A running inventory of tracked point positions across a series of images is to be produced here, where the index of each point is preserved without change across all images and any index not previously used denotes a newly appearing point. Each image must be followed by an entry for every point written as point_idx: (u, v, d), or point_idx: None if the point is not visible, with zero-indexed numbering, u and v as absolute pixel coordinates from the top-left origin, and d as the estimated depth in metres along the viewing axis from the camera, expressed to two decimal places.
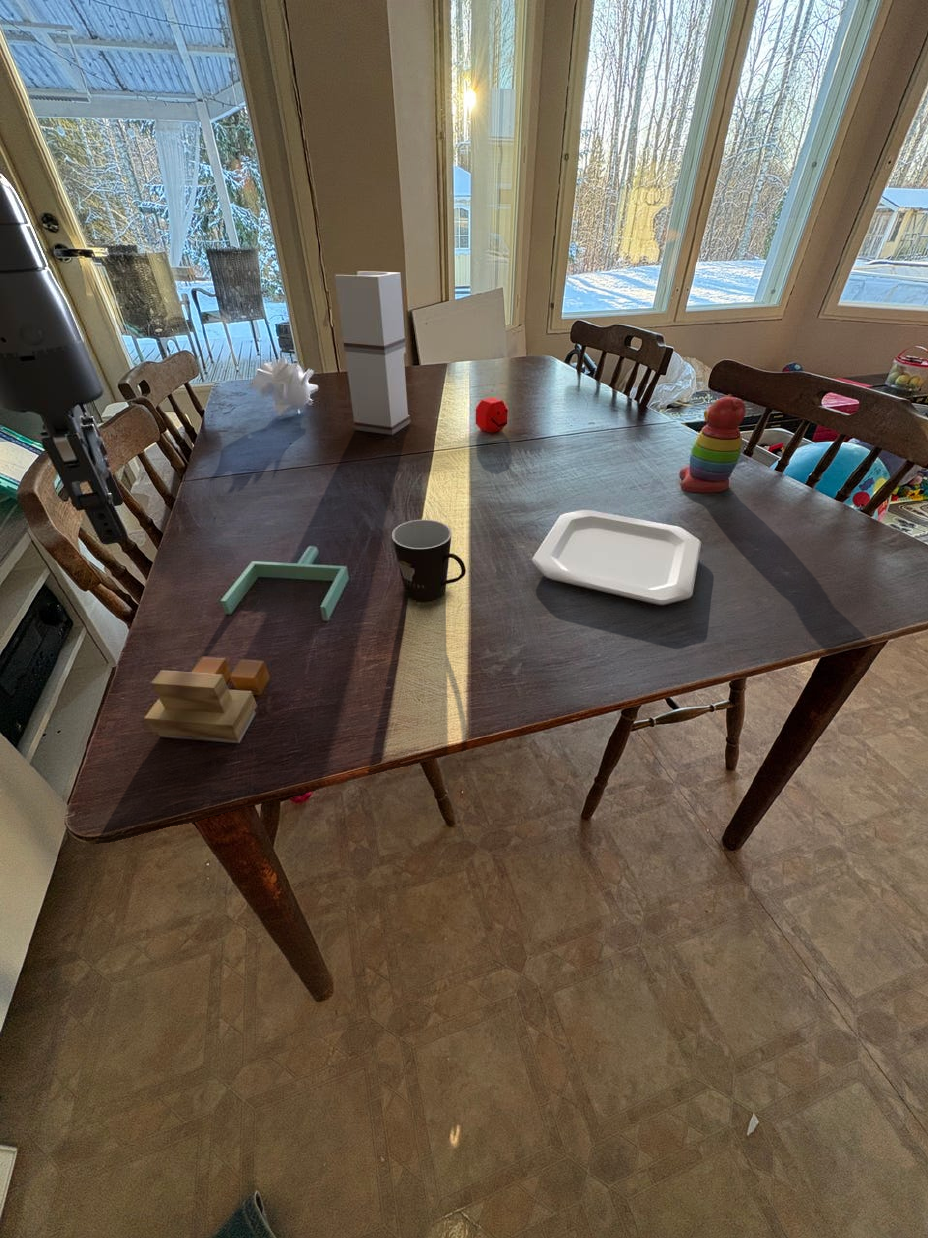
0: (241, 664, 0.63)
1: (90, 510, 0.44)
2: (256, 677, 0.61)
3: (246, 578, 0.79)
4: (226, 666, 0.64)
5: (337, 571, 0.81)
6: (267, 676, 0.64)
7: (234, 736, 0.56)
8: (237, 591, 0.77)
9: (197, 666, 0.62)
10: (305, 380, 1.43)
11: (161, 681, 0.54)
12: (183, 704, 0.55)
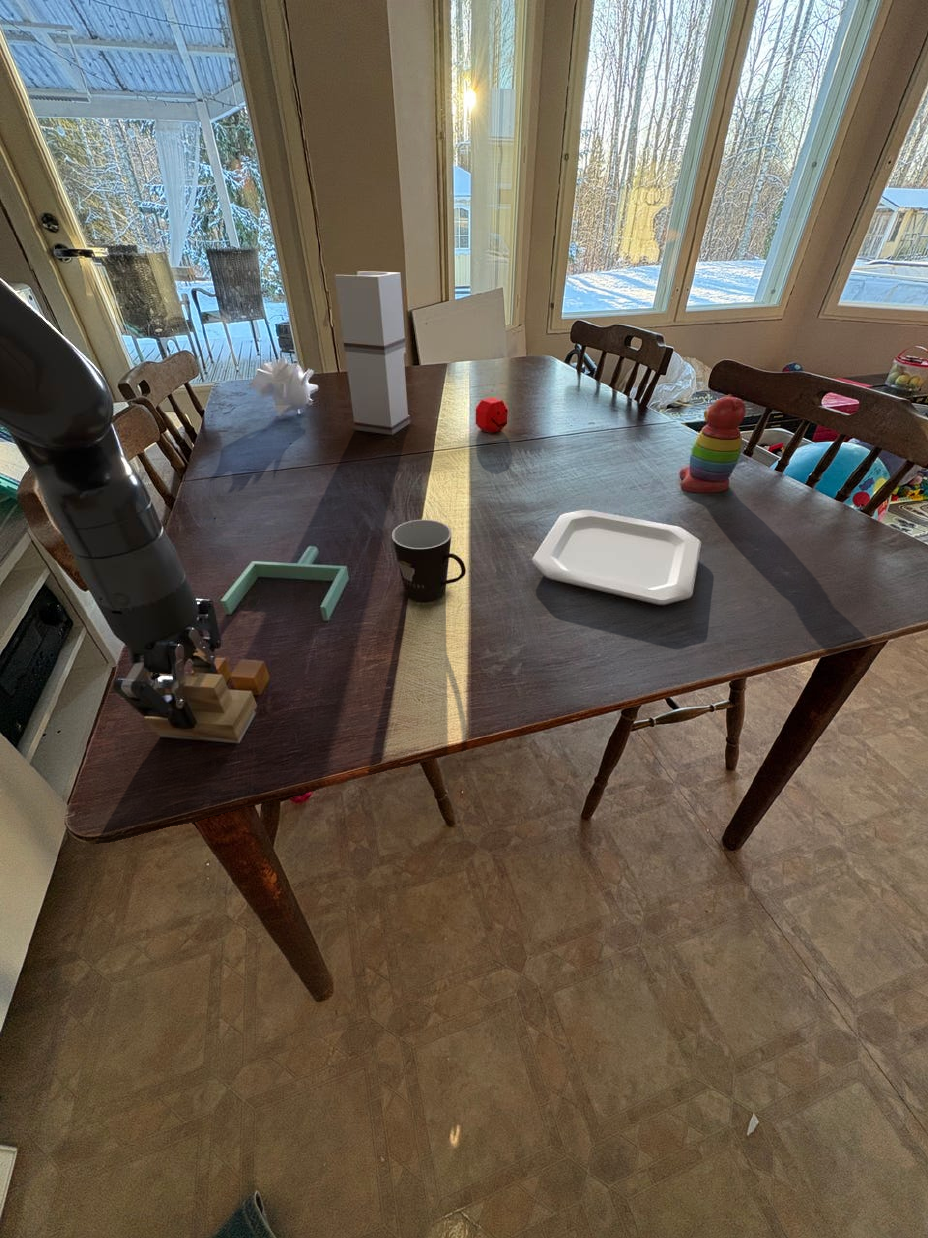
0: (241, 664, 0.63)
1: None
2: (256, 677, 0.61)
3: (246, 578, 0.79)
4: (226, 666, 0.64)
5: (337, 571, 0.81)
6: (267, 676, 0.64)
7: (234, 736, 0.56)
8: (237, 591, 0.77)
9: None
10: (305, 380, 1.43)
11: None
12: None
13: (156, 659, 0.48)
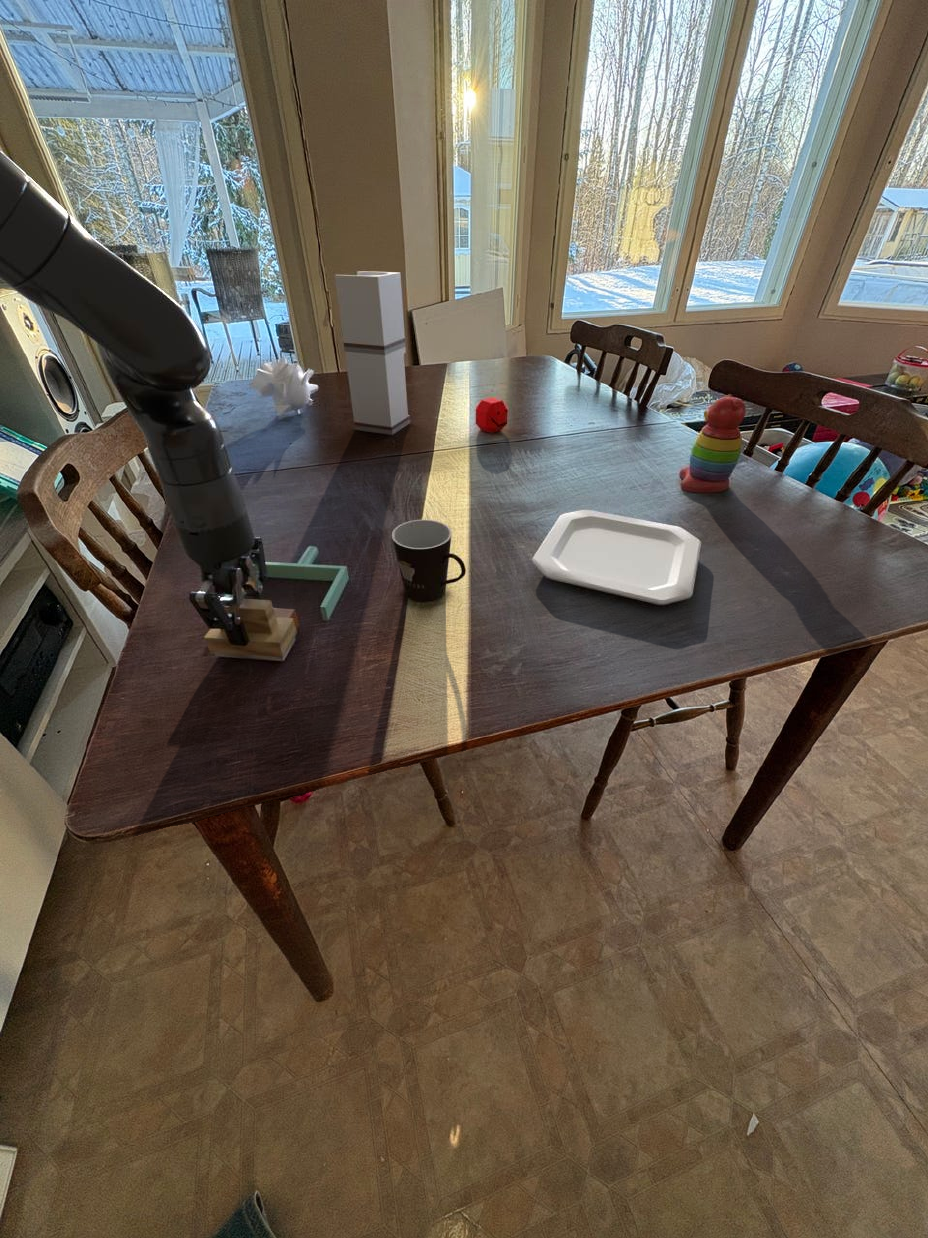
0: (274, 611, 0.71)
1: None
2: None
3: None
4: None
5: (337, 571, 0.81)
6: (296, 624, 0.72)
7: (280, 653, 0.66)
8: None
9: None
10: (305, 380, 1.43)
11: None
12: None
13: (222, 578, 0.58)
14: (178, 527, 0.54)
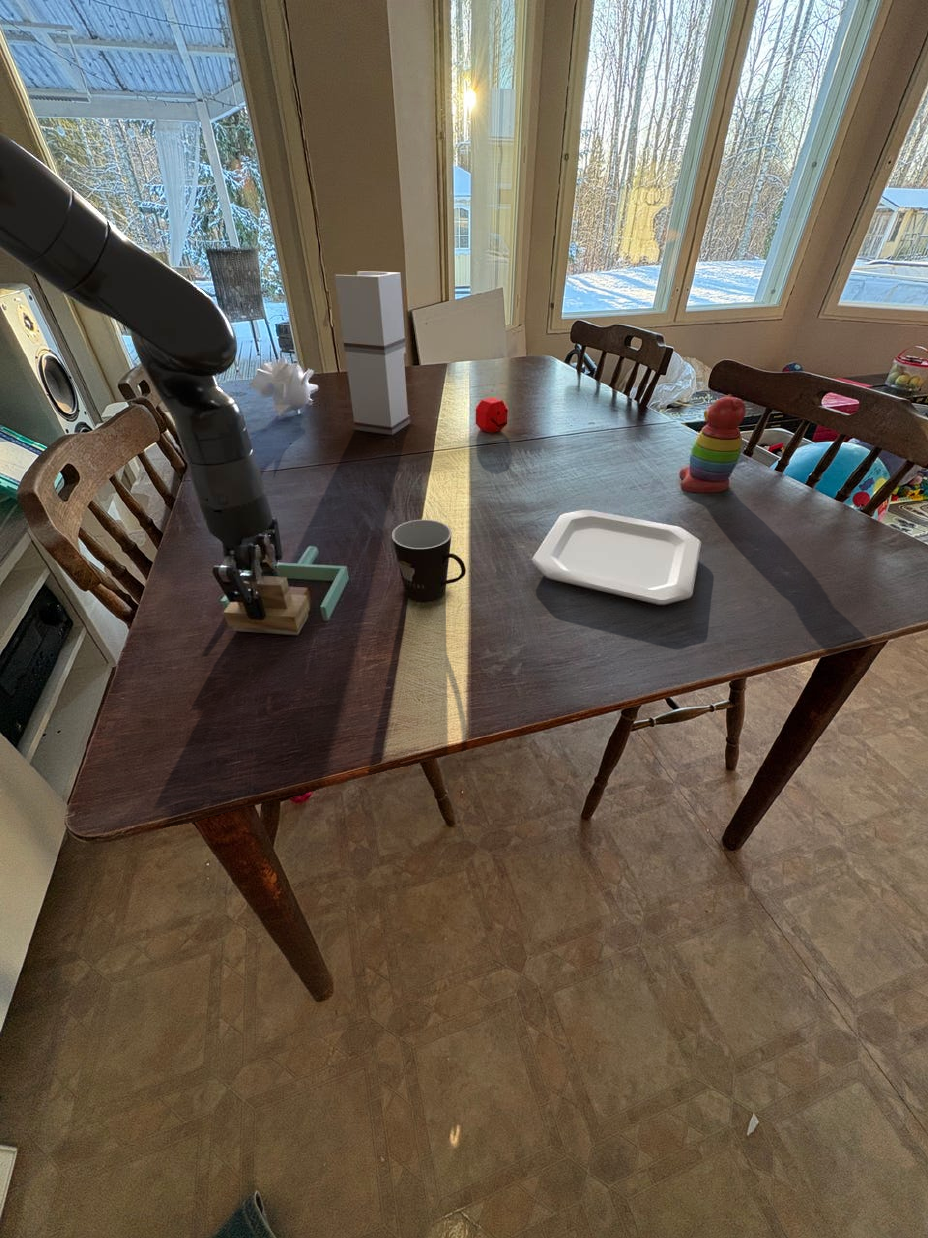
0: None
1: None
2: None
3: None
4: None
5: (337, 571, 0.81)
6: (309, 602, 0.76)
7: (295, 627, 0.70)
8: None
9: None
10: (305, 380, 1.43)
11: None
12: None
13: (242, 553, 0.62)
14: (203, 505, 0.58)
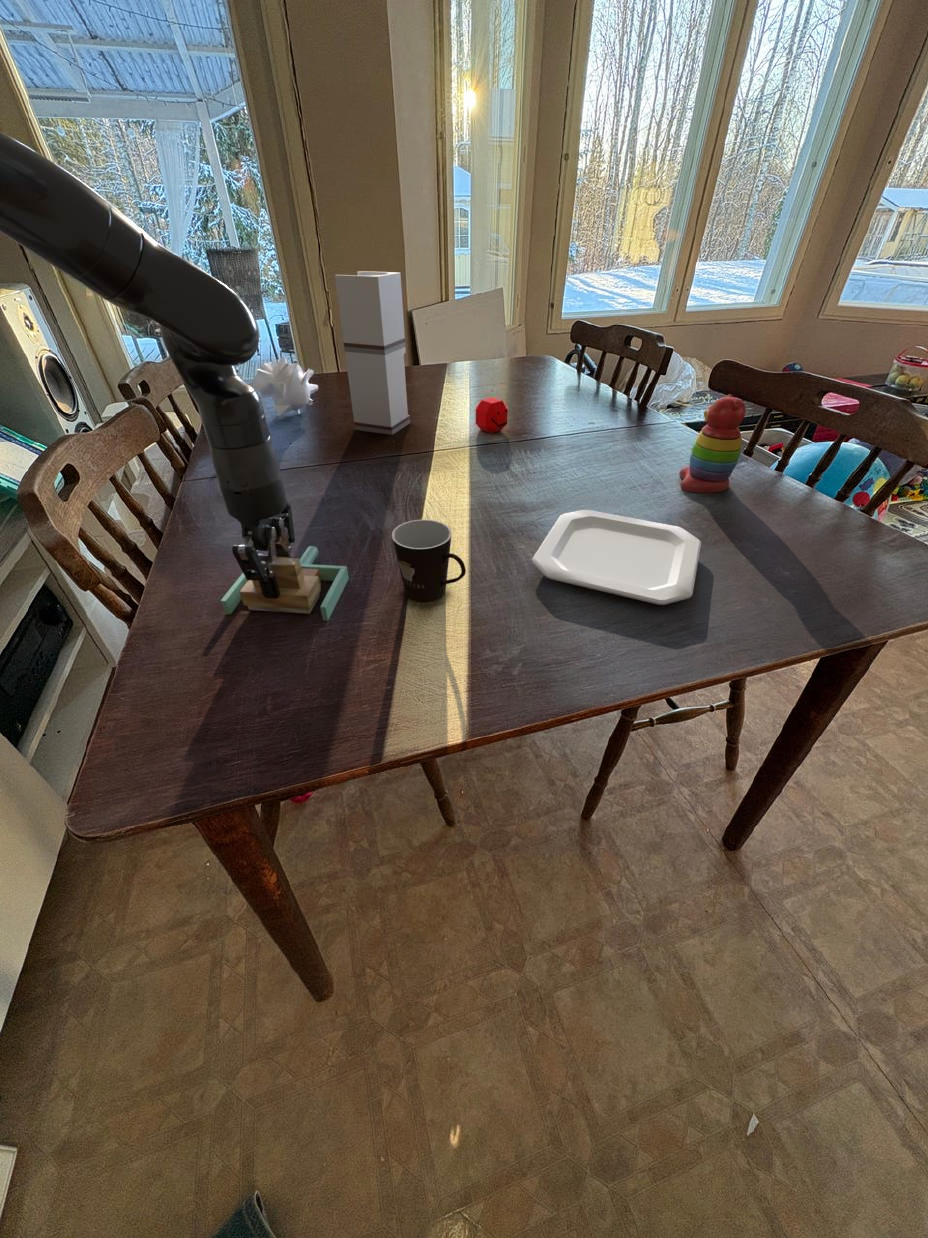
0: None
1: None
2: None
3: None
4: None
5: (337, 571, 0.81)
6: (320, 583, 0.80)
7: (307, 606, 0.74)
8: (237, 591, 0.77)
9: None
10: (305, 380, 1.43)
11: None
12: None
13: (259, 534, 0.66)
14: (223, 487, 0.62)
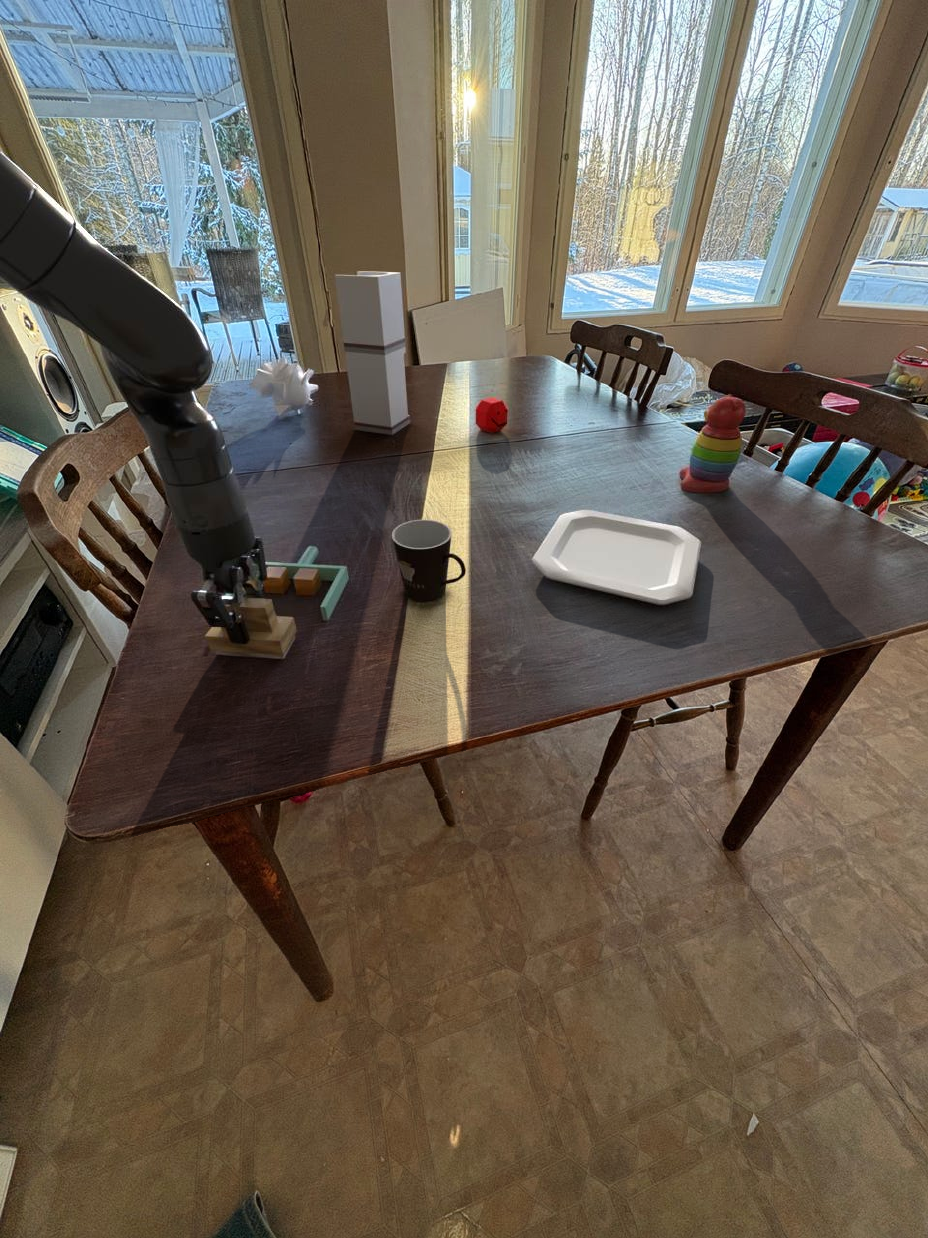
0: (300, 571, 0.79)
1: None
2: (314, 580, 0.78)
3: None
4: (287, 574, 0.80)
5: (337, 571, 0.81)
6: (320, 583, 0.80)
7: (280, 651, 0.66)
8: None
9: None
10: (305, 380, 1.43)
11: None
12: None
13: (223, 577, 0.58)
14: (180, 527, 0.55)
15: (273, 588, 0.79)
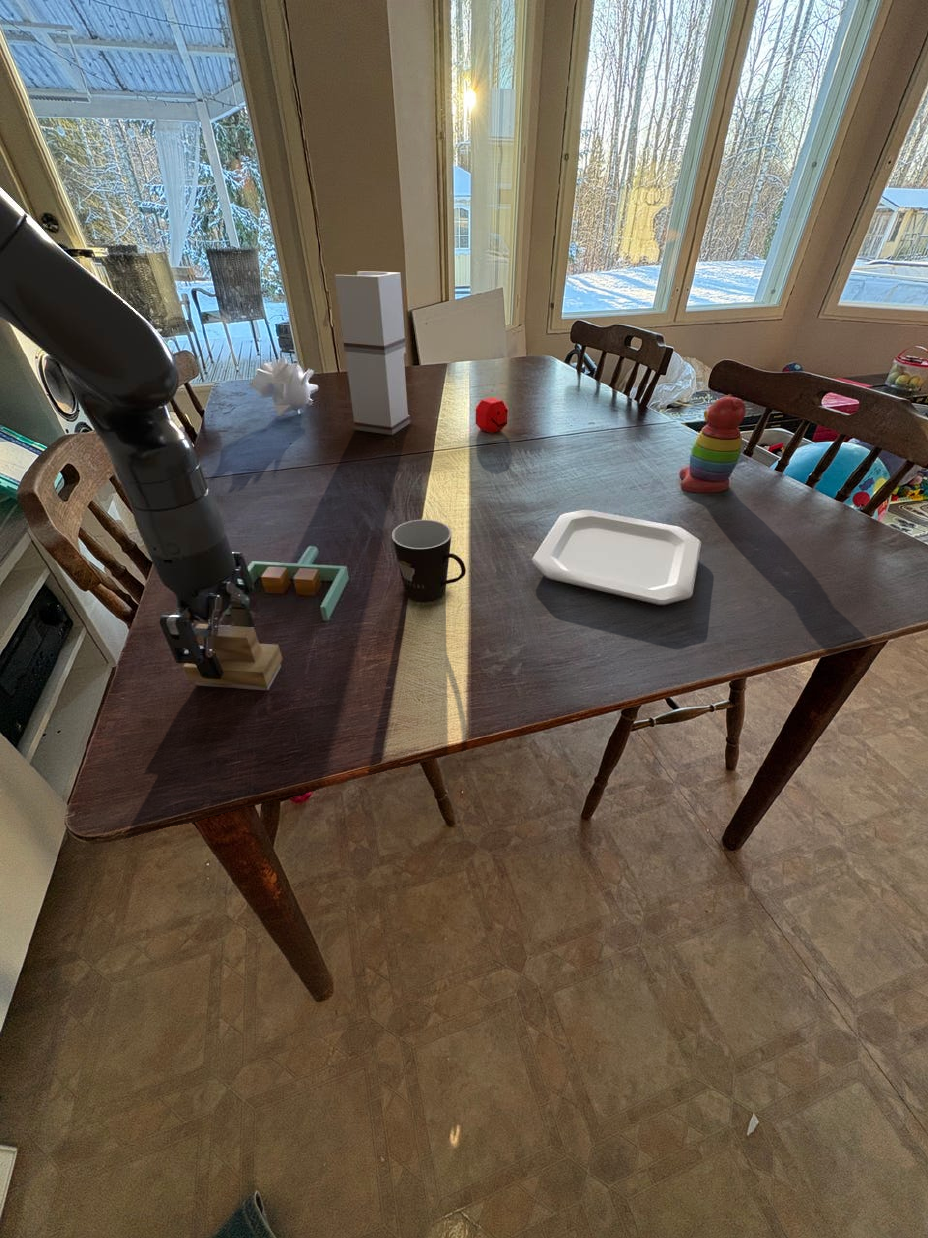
0: (300, 571, 0.79)
1: None
2: (314, 580, 0.78)
3: None
4: (287, 574, 0.80)
5: (337, 571, 0.81)
6: (320, 583, 0.80)
7: (264, 683, 0.62)
8: None
9: (265, 572, 0.78)
10: (305, 380, 1.43)
11: None
12: (218, 654, 0.62)
13: (199, 606, 0.54)
14: (151, 554, 0.50)
15: (273, 588, 0.79)
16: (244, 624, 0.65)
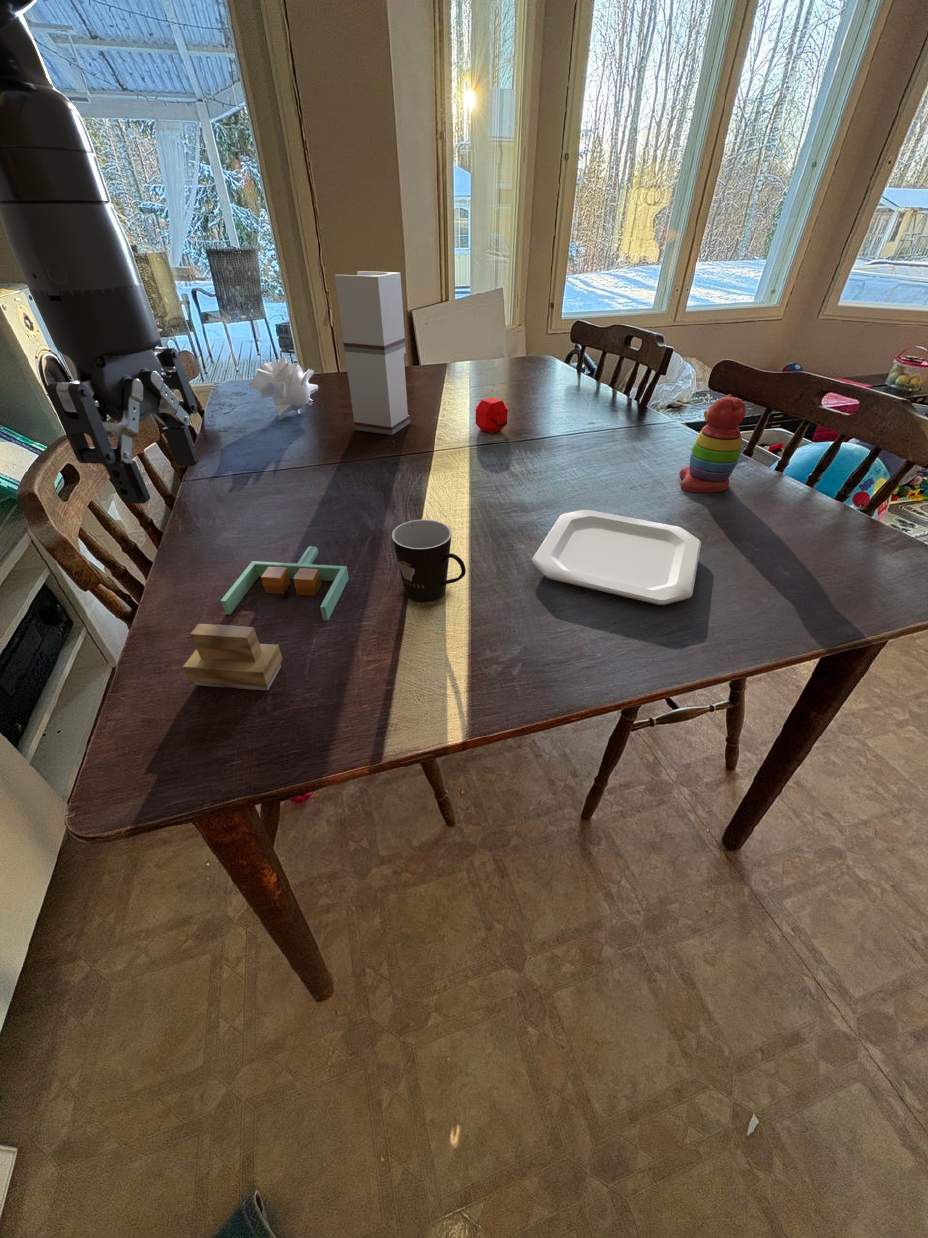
0: (300, 571, 0.79)
1: (105, 465, 0.42)
2: (314, 580, 0.78)
3: (246, 578, 0.79)
4: (287, 574, 0.80)
5: (337, 571, 0.81)
6: (320, 583, 0.80)
7: (264, 683, 0.62)
8: (237, 591, 0.77)
9: (265, 572, 0.78)
10: (305, 380, 1.43)
11: (199, 632, 0.60)
12: (218, 654, 0.62)
13: (108, 384, 0.40)
14: (33, 290, 0.37)
15: (273, 588, 0.79)
16: (184, 454, 0.51)
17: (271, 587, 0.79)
